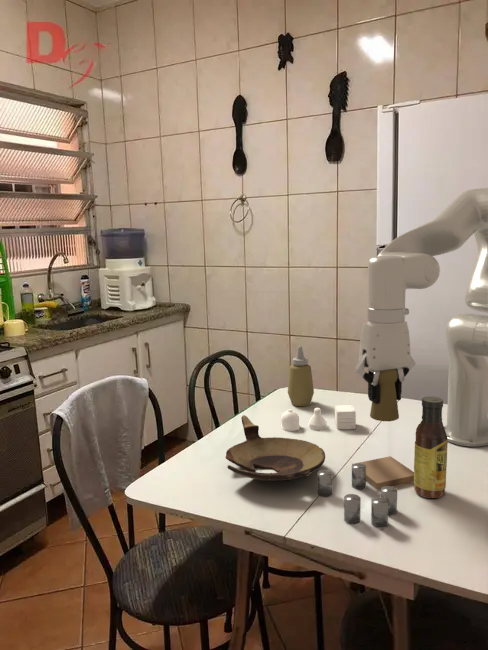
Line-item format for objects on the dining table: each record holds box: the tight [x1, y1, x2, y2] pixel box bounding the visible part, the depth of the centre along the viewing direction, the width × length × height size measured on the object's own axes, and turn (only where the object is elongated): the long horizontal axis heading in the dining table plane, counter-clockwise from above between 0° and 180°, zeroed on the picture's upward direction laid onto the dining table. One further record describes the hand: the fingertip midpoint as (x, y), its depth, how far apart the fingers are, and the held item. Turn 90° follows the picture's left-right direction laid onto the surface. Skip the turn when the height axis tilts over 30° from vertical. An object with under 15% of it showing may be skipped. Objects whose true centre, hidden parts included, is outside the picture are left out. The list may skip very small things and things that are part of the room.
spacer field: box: [317, 462, 398, 529], centre depth 107 cm, size 11×17×4 cm, turn 19°
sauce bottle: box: [413, 396, 449, 499], centre depth 109 cm, size 6×6×20 cm
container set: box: [280, 404, 357, 432], centre depth 148 cm, size 20×5×6 cm, turn 87°
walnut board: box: [351, 455, 414, 491], centre depth 119 cm, size 10×10×2 cm
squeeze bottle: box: [287, 346, 315, 407], centre depth 165 cm, size 8×8×18 cm
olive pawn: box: [369, 369, 400, 422], centre depth 115 cm, size 6×6×11 cm
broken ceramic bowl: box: [225, 414, 326, 482], centre depth 124 cm, size 22×30×8 cm
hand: (384, 399), depth 116 cm, fingers closed on olive pawn, 4 cm apart
